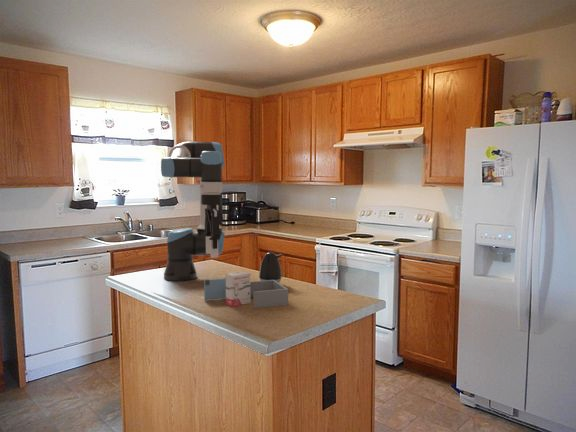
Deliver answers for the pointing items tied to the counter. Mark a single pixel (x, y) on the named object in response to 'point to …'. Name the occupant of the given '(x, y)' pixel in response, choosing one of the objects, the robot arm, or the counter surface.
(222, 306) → the counter surface
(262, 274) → the pump dispenser
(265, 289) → the grey open box
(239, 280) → the ink box
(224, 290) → the blue-grey flat plate
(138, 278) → the counter surface
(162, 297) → the counter surface
